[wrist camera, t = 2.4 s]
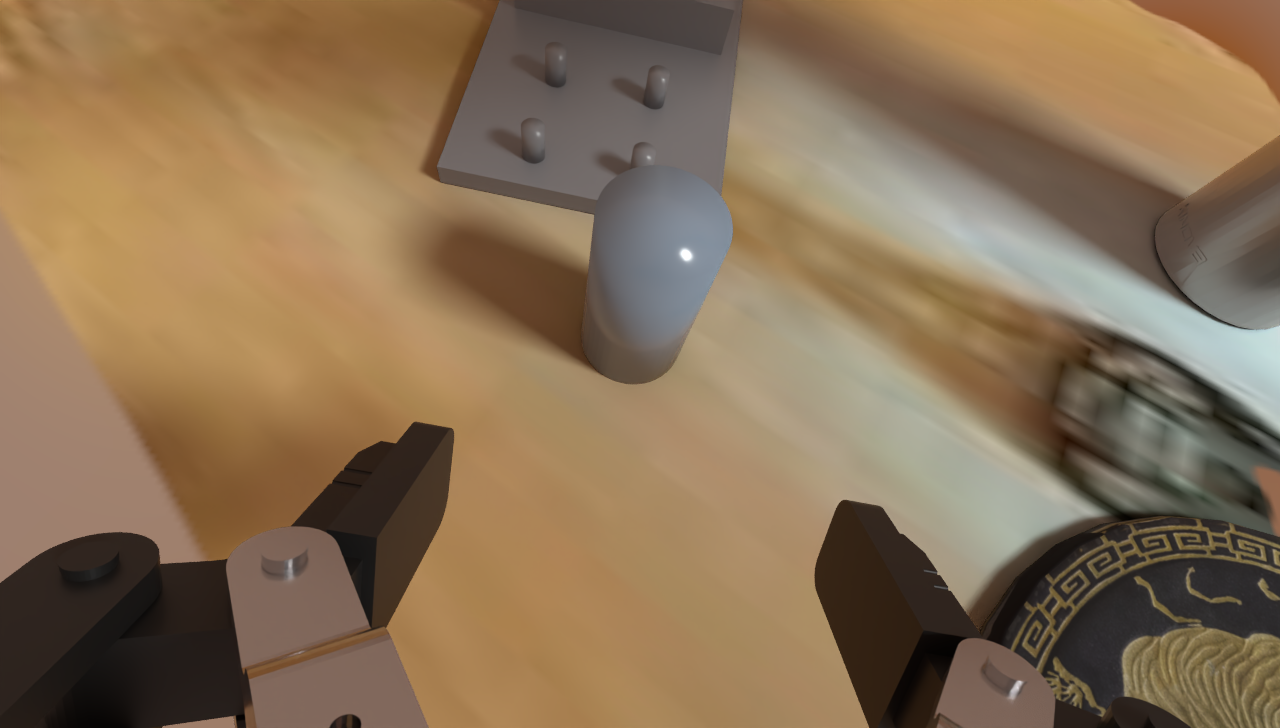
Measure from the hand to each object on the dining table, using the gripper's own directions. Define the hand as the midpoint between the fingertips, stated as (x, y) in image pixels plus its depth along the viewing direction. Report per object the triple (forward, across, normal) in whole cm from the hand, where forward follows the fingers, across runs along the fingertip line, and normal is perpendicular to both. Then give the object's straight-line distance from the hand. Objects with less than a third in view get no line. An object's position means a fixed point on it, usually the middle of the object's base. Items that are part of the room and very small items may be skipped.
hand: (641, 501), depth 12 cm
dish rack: (+31, +4, -11) cm, 34 cm away
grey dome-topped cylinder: (+18, 0, +2) cm, 18 cm away
